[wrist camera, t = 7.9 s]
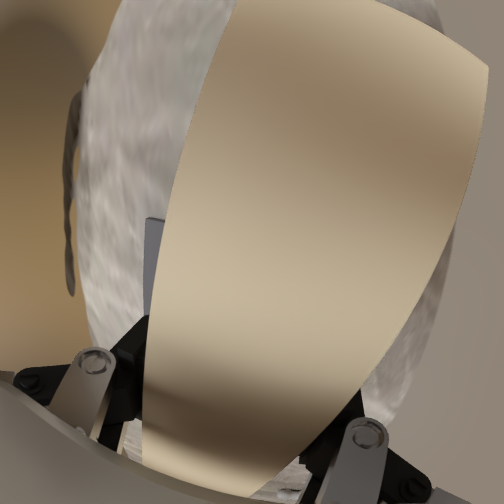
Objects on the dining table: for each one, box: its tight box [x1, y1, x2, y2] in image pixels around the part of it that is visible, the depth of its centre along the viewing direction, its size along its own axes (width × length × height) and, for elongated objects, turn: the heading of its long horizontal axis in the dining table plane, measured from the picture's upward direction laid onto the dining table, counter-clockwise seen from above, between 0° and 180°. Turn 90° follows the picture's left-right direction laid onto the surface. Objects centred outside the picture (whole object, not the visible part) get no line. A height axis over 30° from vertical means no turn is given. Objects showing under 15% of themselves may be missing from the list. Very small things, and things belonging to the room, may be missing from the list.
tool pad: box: [143, 217, 165, 316], centre depth 38 cm, size 26×9×1 cm, turn 170°
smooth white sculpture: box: [277, 489, 302, 501], centre depth 51 cm, size 4×8×5 cm
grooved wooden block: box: [142, 0, 489, 498], centre depth 9 cm, size 20×4×6 cm, turn 162°
